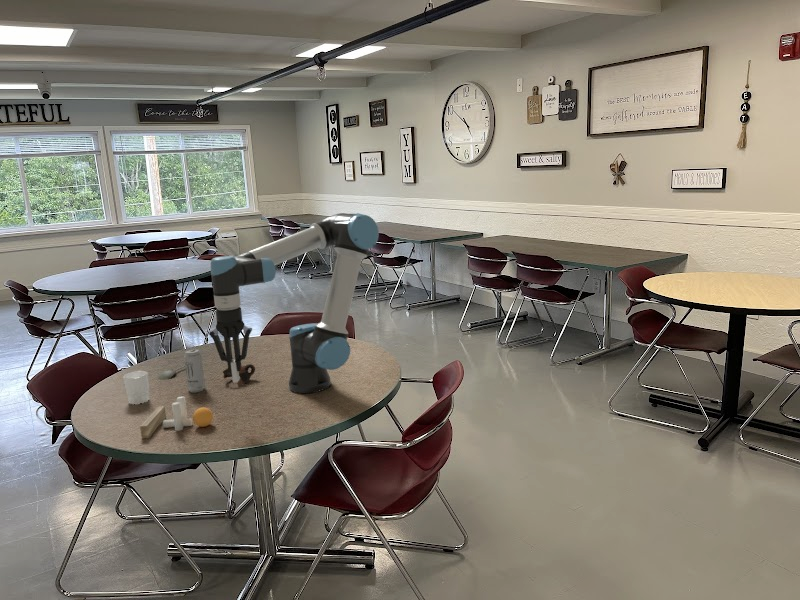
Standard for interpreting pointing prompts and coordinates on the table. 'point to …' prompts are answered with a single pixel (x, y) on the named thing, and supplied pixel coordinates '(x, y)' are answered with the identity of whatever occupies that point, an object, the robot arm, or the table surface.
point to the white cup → (137, 386)
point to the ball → (203, 417)
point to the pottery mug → (242, 374)
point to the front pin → (171, 424)
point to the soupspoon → (168, 374)
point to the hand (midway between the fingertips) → (236, 381)
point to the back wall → (153, 422)
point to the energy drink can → (194, 370)
